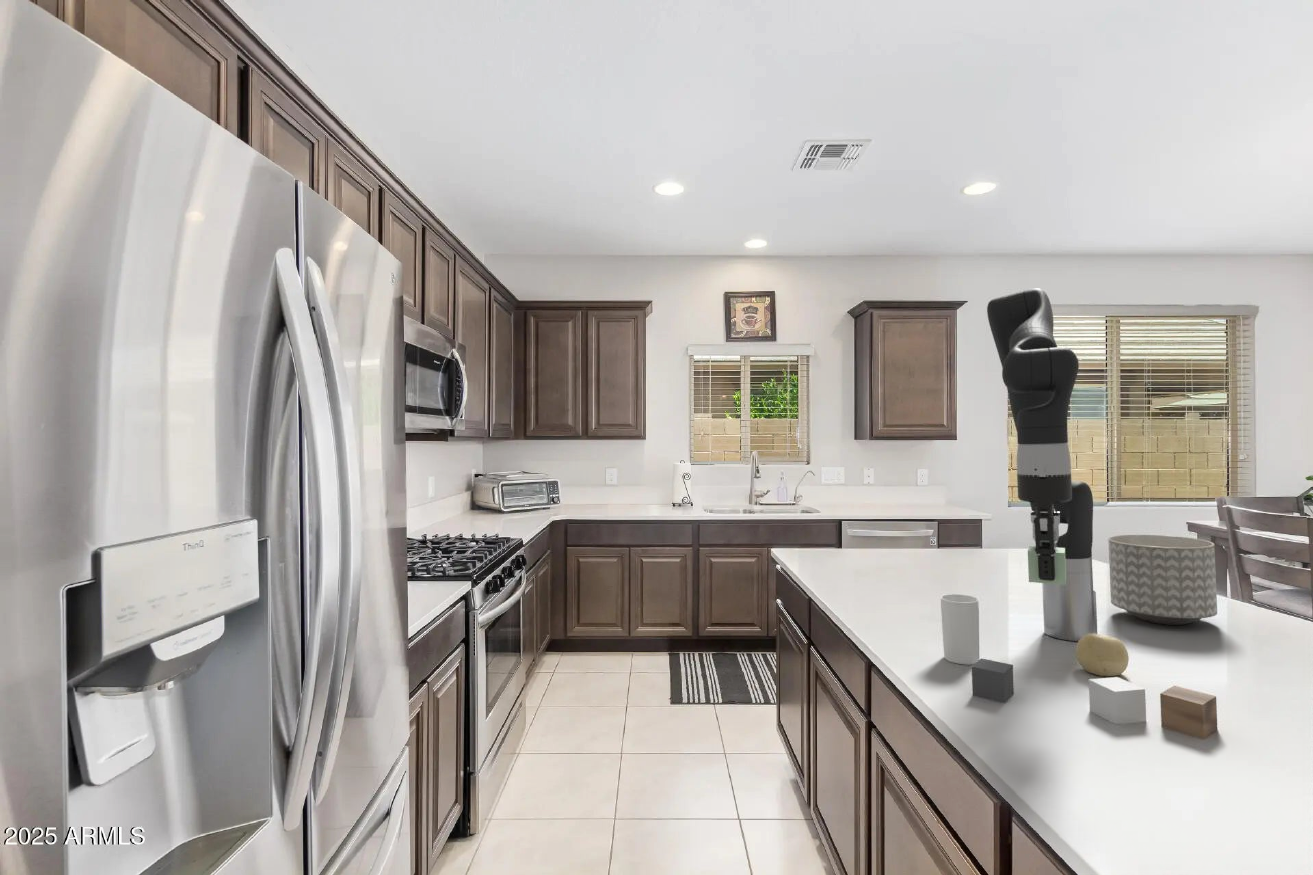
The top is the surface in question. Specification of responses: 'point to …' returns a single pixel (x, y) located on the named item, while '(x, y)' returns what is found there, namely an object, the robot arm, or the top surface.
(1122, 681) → the grey block
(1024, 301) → the robot arm
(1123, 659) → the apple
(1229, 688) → the top surface
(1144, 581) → the planter
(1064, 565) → the sage block
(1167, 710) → the walnut block
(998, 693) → the charcoal block
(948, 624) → the mug
